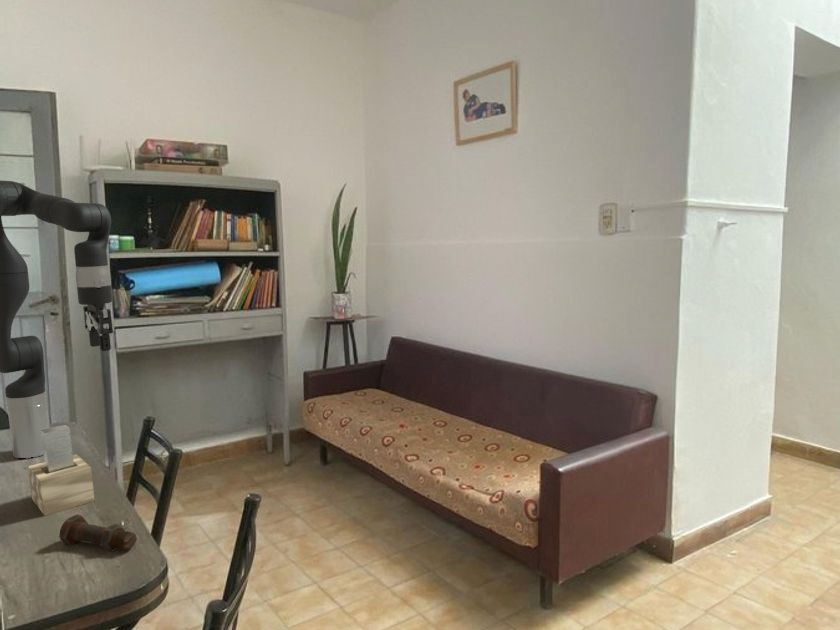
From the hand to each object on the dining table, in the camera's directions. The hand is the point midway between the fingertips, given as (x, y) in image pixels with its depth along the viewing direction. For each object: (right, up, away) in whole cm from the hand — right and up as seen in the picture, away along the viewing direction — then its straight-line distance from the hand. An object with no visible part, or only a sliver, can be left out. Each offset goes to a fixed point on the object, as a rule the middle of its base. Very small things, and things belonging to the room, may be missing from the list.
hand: (100, 348), depth 151 cm
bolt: (+18, -37, -34) cm, 53 cm away
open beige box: (-2, -34, -13) cm, 37 cm away
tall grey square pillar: (-2, -31, -13) cm, 34 cm away
